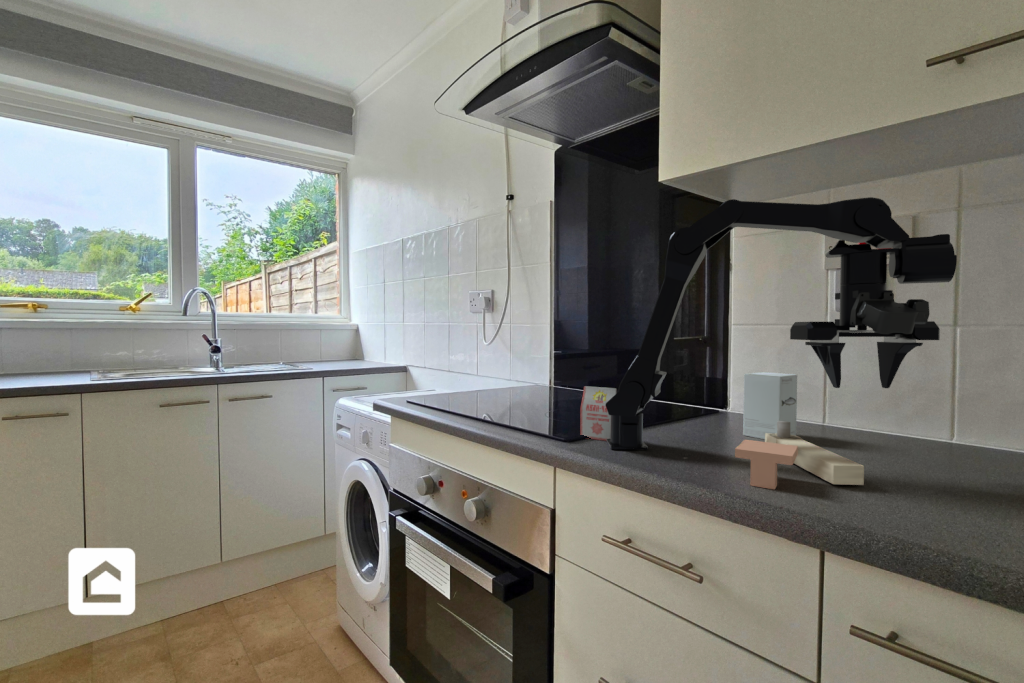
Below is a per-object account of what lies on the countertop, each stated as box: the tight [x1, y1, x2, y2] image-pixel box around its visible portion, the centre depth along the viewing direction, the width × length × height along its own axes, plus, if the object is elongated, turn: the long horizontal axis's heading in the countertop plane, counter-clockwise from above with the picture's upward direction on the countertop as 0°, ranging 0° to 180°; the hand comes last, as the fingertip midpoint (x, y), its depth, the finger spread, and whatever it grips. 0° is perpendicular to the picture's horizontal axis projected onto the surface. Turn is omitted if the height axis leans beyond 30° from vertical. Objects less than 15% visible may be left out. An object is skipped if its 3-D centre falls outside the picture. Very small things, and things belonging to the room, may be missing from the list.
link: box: [764, 421, 865, 486], centre depth 77 cm, size 21×5×5 cm, turn 177°
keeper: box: [734, 439, 798, 490], centre depth 70 cm, size 7×7×5 cm
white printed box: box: [579, 385, 618, 442], centre depth 98 cm, size 4×7×10 cm, turn 57°
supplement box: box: [742, 371, 798, 440], centre depth 99 cm, size 7×7×13 cm
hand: (861, 387), depth 75 cm, fingers open, 7 cm apart
